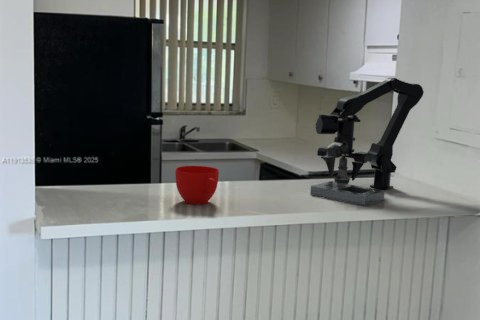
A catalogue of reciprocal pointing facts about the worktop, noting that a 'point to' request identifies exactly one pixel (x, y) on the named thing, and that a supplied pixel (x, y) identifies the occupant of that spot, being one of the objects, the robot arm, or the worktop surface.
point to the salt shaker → (342, 171)
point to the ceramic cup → (196, 183)
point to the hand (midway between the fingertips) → (342, 178)
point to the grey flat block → (347, 193)
